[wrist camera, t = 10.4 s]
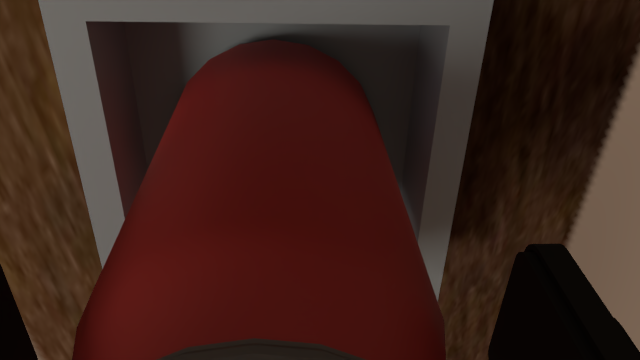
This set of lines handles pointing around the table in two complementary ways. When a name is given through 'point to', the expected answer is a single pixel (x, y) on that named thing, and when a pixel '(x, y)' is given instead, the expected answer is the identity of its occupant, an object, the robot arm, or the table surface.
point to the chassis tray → (260, 25)
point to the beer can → (266, 228)
